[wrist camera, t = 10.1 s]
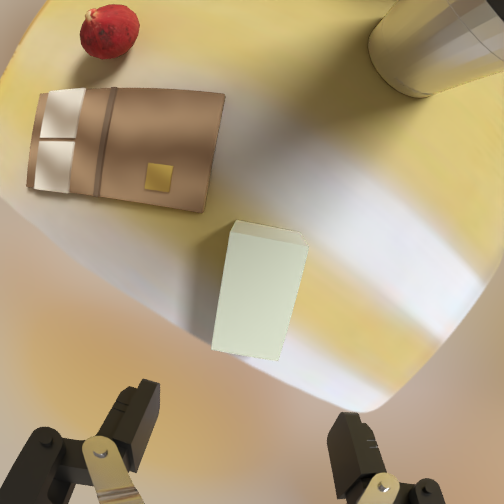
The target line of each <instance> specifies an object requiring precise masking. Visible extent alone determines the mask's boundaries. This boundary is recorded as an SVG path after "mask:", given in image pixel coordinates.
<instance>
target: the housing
mask: <svg viewBox="0 0 504 504" xmlns="http://www.w3.org/2000/svg"><path fill="white" fill-rule="evenodd" d="M308 250H309V246H308V244H307V243H306V241H305V240H304V238H303V236H302V235H301V233H300V232H296V231H291V230H287V229H282V228H276V227H271V226H266V225H261V224H256V223H251V222H246V221H240V220H236V221H235V223H234V225H233V227H232V229H231V231H230V236H229V242H228V247H227V253H226V259H225V265H224V271H223V277H222V283H221V289H220V295H219V301H218V307H217V314H216V320H215V326H214V333H213V339H212V346H211V350H216V351H221V352H226V353H231V354H237V355H242V356H248V357H254V358H260V359H267V360H274V361H278V360H279V357H280V353H281V350H282V347H283V343H284V340H285V336H286V333H287V329H288V326H289V322H290V319H291V315H292V311H293V308H294V304H295V300H296V297H297V293H298V289H299V285H300V281H301V278H302V274H303V270H304V266H305V262H306V258H307V254H308Z"/></svg>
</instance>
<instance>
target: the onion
mask: <svg viewBox="0 0 504 504" xmlns="http://www.w3.org/2000/svg"><path fill="white" fill-rule="evenodd" d="M85 18H86V20H85V21H84V22H83V24H82V27H81V31H80V40H81V45H82V47H83V48H84V49H85V51H86V52H87V53H88V54H89V55H90V56H93V57H97V58H100V59H111V58H116V57H118V56H120V55H122V54H124V53H126V52H127V51H128V50H129V49H130V48H131V47H132V46H133V44H134V42H135V40H136V38H137V36H138V33H139V27H140V24H139V21H138V18H137V16H136V14H135V13H134V12H133V11H132V10H130V9H129V8H128V7H127V6H124V5H115V4H112V5H106V6H103V7H100V8H98V9H91V10H89V11H88V12H87V14H86V15H85Z"/></svg>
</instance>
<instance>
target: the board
mask: <svg viewBox="0 0 504 504" xmlns="http://www.w3.org/2000/svg"><path fill="white" fill-rule="evenodd" d="M224 102H225V94H220V93H212V92H202V91H191V90H177V89H158V88H117V87H111V88H101V89H86V88H76V89H65V90H56V91H49V93H43V94H40V97H39V102H38V106H37V111H36V116H35V121H34V126H33V132H32V139H31V145H30V153H29V161H28V171H27V184H26V187H33V188H34V189H39V190H46V191H54V192H61V193H69V192H72V193H79V194H86V195H93V196H95V197H106V198H113V199H120V200H126V201H133V202H139V203H145V204H151V205H158V206H164V207H170V208H176V209H181V210H187V211H193V212H199V213H203V212H204V209H205V203H206V197H207V191H208V185H209V179H210V173H211V168H212V162H213V157H214V152H215V146H216V141H217V136H218V131H219V126H220V121H221V116H222V111H223V106H224Z"/></svg>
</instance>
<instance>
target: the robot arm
mask: <svg viewBox="0 0 504 504" xmlns="http://www.w3.org/2000/svg"><path fill="white" fill-rule="evenodd" d="M368 49H369V55H370V58H371V60H372V63H373V65H374V66H375V68H376V70H377V71H378V73H379V74H380V75H381V77H382V78H383V79H384V80H385V81H386V82H387V83H388V84H389V85H390V86H392V87H393V88H394V89H396V90H397V91H399V92H401V93H403V94H405V95H408V96H411V97H416V98H424V97H429V96H431V95H434V94H437V93H439V92H442V91H445V90H448V89H451V88H454V87H457V86H459V85H462V84H465V83H468V82H471V81H474V80H477V79H480V78H483V77H487V76H490V75H493V74H496V73H500V72H503V71H504V0H398V1H397V2H396V4H395V5H394V6H393V7H392V8H391V9H390V10H389V11H388V13H387V14H386V15H385V16H384V18H383V19H382V20H381V22H380V23H379V24H378V25H377V26H376V27H375V29H374V30H373V31H372V32H371V34H370V37H369V42H368ZM159 409H160V384H159V383H157V382H153V381H149V380H146V379H142V381H141V383H140V384H139V386H138V388H134V387H130V386H129V387H128V388H126V389H125V390H123V391H122V392H121V393H120V394H119V396H118V398H117V400H116V402H115V403H114V405H113V407H112V409H111V410H110V412H109V414H108V415H107V417H106V419H105V421H104V423H103V425H102V426H101V428H100V430H99V432H98V433H97V434H96V435H95V436H93V437H90V438H88V439H87V440H73V439H67V438H62V437H61V435H60V434H59V433H58V432H57V431H56V430H55V429H52V428H50V427H40V428H37V429H36V430H34V431H33V433H32V434H31V436H30V437H29V439H28V441H27V442H26V444H25V446H24V447H23V449H22V451H21V452H20V454H19V456H18V458H17V459H16V461H15V463H14V464H13V466H12V468H11V470H10V472H9V473H8V475H7V477H6V479H5V481H4V483H3V485H2V487H1V488H0V504H68V502H69V500H70V498H71V495H72V493H73V490H74V488H75V485H76V484H82V485H89V486H94V487H95V490H96V493H97V497H98V500H99V503H100V504H145V503H144V501H143V499H142V498H141V496H140V494H139V492H138V491H137V489H136V488H135V487H134V485H133V483H132V480H131V478H130V476H129V474H128V473H129V471H132V472H135V473H137V470H138V467H139V465H140V462H141V459H142V457H143V454H144V451H145V449H146V446H147V443H148V441H149V438H150V436H151V433H152V431H153V428H154V425H155V423H156V420H157V417H158V414H159ZM327 446H328V451H329V456H330V461H331V467H332V472H333V478H334V483H335V489H336V495H337V499H346V501H347V503H346V504H445V501H444V498H443V495H442V492H441V489H440V487H439V485H438V483H437V482H435V481H434V480H432V479H429V478H425V479H422V480H420V481H419V482H418V483H417V484H407V483H400V482H398V480H397V478H396V477H395V476H393V475H391V474H389V473H387V471H386V469H385V466H384V463H383V460H382V457H381V454H380V451H379V448H378V445H377V442H376V441H375V437H374V434H373V431H372V430H371V429H370V427H369V426H368V425H367V424H366V423H361V420H360V417H359V414H358V413H351V412H341V413H340V414H339V416H338V418H337V419H336V421H335V423H334V425H333V426H332V428H331V430H330V432H329V434H328V437H327Z"/></svg>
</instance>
